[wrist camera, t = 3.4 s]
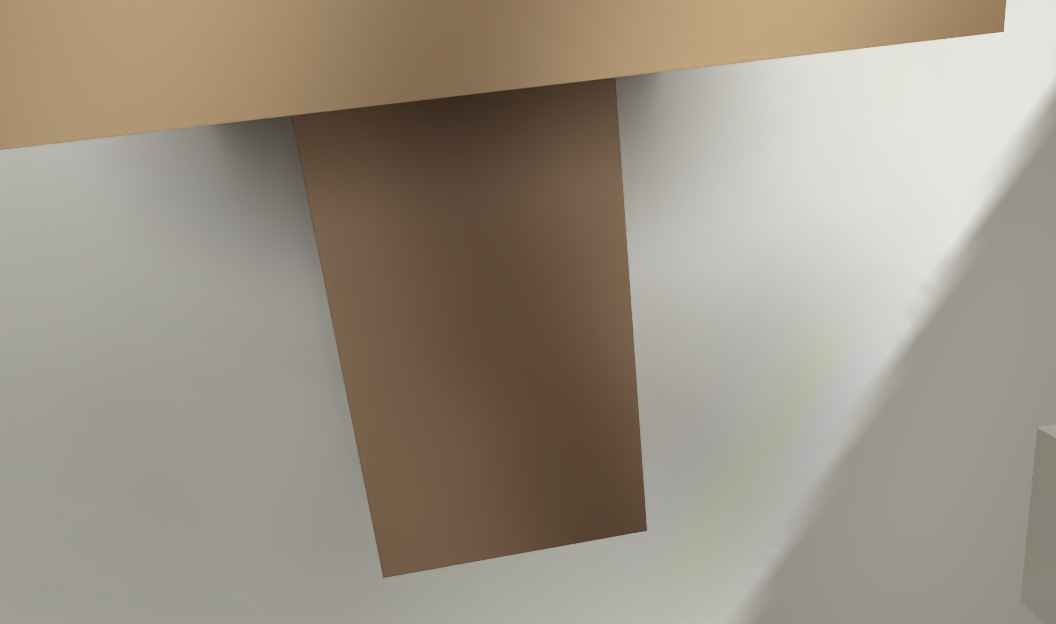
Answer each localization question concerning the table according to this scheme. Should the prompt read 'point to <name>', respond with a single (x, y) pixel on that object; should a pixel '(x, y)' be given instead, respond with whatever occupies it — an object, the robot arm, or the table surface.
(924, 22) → the tunnel
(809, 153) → the table surface
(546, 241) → the walnut block
